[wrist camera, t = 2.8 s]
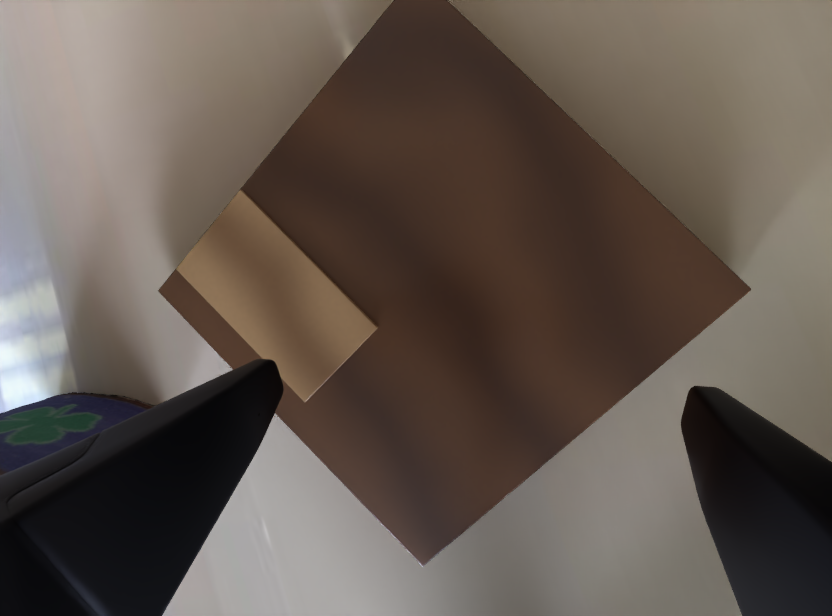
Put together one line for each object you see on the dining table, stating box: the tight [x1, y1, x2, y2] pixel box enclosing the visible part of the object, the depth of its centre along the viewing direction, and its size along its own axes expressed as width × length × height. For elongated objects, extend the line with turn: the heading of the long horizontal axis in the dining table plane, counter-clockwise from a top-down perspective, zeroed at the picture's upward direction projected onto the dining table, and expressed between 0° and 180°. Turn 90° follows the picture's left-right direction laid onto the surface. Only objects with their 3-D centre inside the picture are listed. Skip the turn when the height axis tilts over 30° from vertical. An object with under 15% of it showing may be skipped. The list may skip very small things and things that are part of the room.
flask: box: [0, 392, 154, 476], centre depth 22 cm, size 9×3×11 cm, turn 83°
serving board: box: [158, 0, 751, 566], centre depth 22 cm, size 22×22×2 cm
